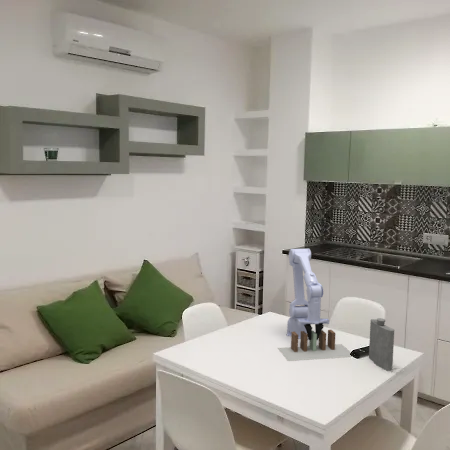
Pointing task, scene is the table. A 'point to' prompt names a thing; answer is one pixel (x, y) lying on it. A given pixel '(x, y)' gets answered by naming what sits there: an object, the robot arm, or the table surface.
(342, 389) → the table surface
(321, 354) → the grey mat
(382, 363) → the hip flask
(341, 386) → the table surface
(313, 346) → the sage domino
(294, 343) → the domino
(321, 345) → the domino
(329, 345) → the domino
